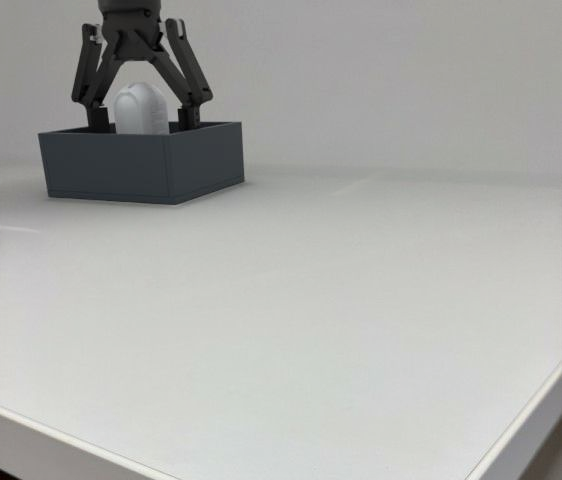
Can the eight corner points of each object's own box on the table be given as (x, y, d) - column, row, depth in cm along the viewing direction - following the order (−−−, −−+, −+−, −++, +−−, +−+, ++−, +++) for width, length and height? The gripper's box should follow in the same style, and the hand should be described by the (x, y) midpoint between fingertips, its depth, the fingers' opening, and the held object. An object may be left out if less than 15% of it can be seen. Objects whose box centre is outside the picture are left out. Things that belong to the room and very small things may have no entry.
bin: (48, 196, 89) (37, 133, 86) (130, 175, 103) (123, 120, 100) (175, 204, 81) (168, 135, 78) (244, 181, 95) (241, 121, 92)
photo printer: (148, 176, 97) (138, 81, 92) (177, 176, 96) (168, 80, 91) (118, 188, 88) (105, 84, 83) (149, 189, 87) (138, 83, 82)
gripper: (233, -30, 80) (242, 159, 89) (66, -15, 90) (90, 154, 99) (199, -37, 74) (213, 167, 83) (24, -19, 84) (53, 161, 93)
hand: (146, 160), depth 91 cm, fingers open, 13 cm apart
